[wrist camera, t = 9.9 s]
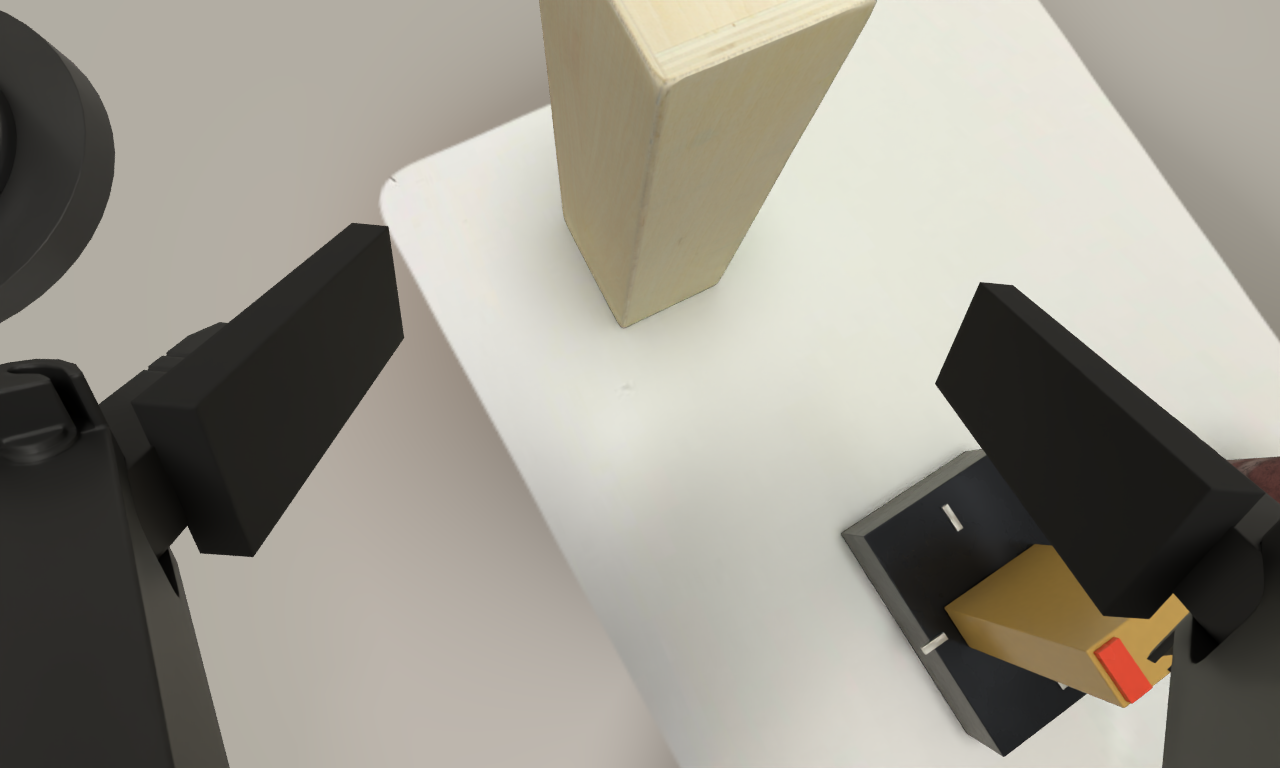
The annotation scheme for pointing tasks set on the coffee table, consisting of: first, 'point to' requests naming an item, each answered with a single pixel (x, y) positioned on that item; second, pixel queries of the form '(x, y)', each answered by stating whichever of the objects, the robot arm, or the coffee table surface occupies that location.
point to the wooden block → (1063, 629)
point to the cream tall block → (680, 128)
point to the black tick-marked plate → (958, 592)
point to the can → (1262, 473)
